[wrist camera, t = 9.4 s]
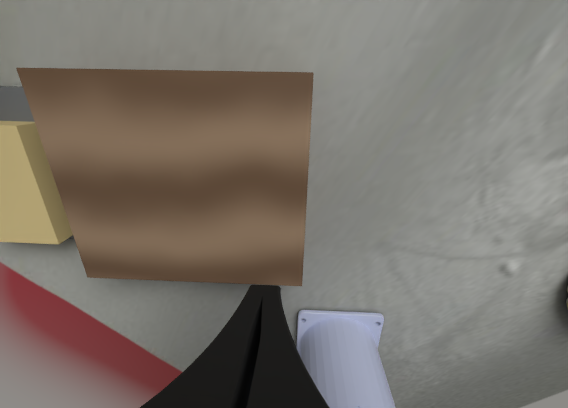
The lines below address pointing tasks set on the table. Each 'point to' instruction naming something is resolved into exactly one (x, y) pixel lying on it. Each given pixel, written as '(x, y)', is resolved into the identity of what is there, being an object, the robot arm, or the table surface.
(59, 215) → the pale yellow block
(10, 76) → the table surface
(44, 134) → the board
